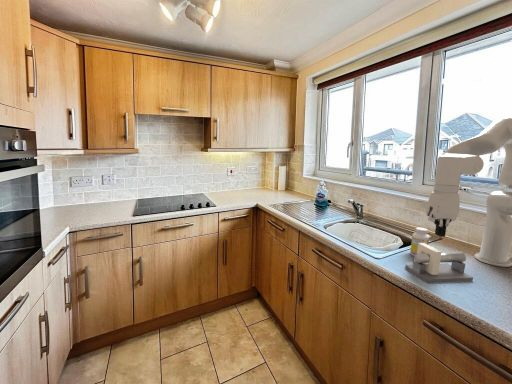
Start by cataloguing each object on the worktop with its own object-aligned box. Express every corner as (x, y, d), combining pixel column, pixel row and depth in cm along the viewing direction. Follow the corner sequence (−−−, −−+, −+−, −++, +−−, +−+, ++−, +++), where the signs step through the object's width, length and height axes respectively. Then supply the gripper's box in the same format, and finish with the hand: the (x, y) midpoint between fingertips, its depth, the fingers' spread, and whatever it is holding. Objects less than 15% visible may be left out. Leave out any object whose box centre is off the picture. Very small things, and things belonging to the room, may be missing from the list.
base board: (446, 266, 113) (447, 263, 113) (472, 281, 101) (473, 277, 101) (405, 268, 111) (405, 264, 111) (426, 283, 99) (426, 279, 99)
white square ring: (421, 263, 110) (424, 242, 108) (438, 274, 101) (441, 251, 99) (415, 263, 109) (418, 243, 108) (432, 274, 100) (435, 252, 99)
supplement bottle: (420, 252, 128) (424, 226, 125) (429, 258, 121) (434, 231, 119) (406, 252, 127) (410, 226, 125) (415, 258, 121) (419, 231, 119)
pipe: (455, 267, 109) (458, 250, 107) (463, 272, 105) (467, 254, 104) (412, 269, 107) (414, 251, 105) (419, 274, 103) (421, 256, 101)
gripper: (455, 186, 104) (449, 231, 108) (420, 187, 102) (415, 233, 106) (473, 190, 97) (465, 238, 100) (435, 191, 95) (429, 240, 99)
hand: (439, 235), depth 103 cm, fingers closed
